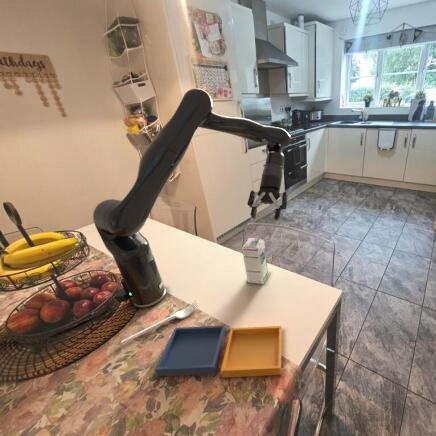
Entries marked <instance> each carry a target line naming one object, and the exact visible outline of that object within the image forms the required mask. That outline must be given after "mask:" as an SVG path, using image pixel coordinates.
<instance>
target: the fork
mask: <svg viewBox="0 0 436 436" xmlns="http://www.w3.org/2000/svg"><path fill="white" fill-rule="evenodd" d="M198 306H199V304H198V302H197V301H196V300H194V301H193V302H192V303H190V304H189V305H188V306H186V307H184V308H183V309H181V310H179V311H176V312H175V313H174V314H172V315H169V316H168V317H166V318H164V319H162V320H160V321H158V322H156V323H154V324H152V325H150V326H149V327H146V328H144V329H142V330H141V331H139V332H136V333H135V334H133V335H131V336H128V337H126V338H125V339H122V340H121V341H120V344H121V345H123V344H126V343H127V342H129V341H131V340H133V339H136V338H137V337H140V336H142V335H144V334H145V333H148V332H150V331H152V330H154V329H156V328H158V327H160V326H161V325H164V324H166V323H169V322H171V321H172V320H174V319H179V320H183V319H185V318H187V317H189V316H190V315H191V314H192V313H193V312H194V311H195V310H196V309H197V308H198Z"/></svg>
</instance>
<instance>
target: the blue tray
mask: <svg viewBox="0 0 436 436" xmlns="http://www.w3.org/2000/svg"><path fill="white" fill-rule="evenodd" d="M226 335H227V329H226V325H205V326H183V327H175V328H174V329H173V331H172V333H171V335H170V338H169V339H168V341H167V344H166V346H165V347H164V350H163V352H162V354H161V357H160V358H159V360H158V363H157V364H156V367H155V369H154V372H155V373H156V375H157V377H171V376H173V377H174V376H192V375H215V374H217V368H218V365H219V361H220V357H221V354H222V350H223V345H224V341H225V339H226Z"/></svg>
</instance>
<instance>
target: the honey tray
mask: <svg viewBox="0 0 436 436" xmlns="http://www.w3.org/2000/svg"><path fill="white" fill-rule="evenodd" d="M282 337H283V331H282V325H276V326H275V325H271V326H251V327H249V326H248V327H231V328H230V330H229V334H228V338H227V344H226V347H225V351H224V356H223V360H222V364H221V368H220V373H221V374H220V375H221V377H222V379H223V378H242V377H263V376H281V375H282V352H283V351H282V346H283V345H282V344H283V343H282V341H283V338H282Z"/></svg>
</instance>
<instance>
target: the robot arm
mask: <svg viewBox="0 0 436 436" xmlns="http://www.w3.org/2000/svg"><path fill="white" fill-rule="evenodd" d="M213 110H214V103H213V99H212V97H211V96H210V94H209V93H208V92H207V91H206V90H205V89H203V88H191V89H188V90H187V91H186V92H185V93H184V95H183V96H182V99H181V101H180V102H179V105H178V106H177V108H176V110H175V112H174V113H173V115H172V117H171V118H170V119H168V121H167V122H166V123H165V125H164V126H163V127H162V129H160V130H159V132H158V133H157V134H156V136H155V137H154V138H153V139H152V141H151V142H150V143H149V145H148V146H147V147H146V148H145V150H144V151H143V153H142V155H141V156H140V160H139V164H138V169H137V176H136V179H135V182H134V184H133V185H132V187H131V189H129V191H128V193H127V194H126V195H125V197H124V198H123V199H122V200H121V199H116V198H110V199H105V200H102V201H100V202H99V203H98V204H97V205H96V206H95V208H94V210H93V214H92V220H93V224H94V226H95V229H96V231H97V233H98V235H99V237H100V238H101V240H102V243H103V244H104V247H105V248H106V249H107V251H108V252H109V253H110V254H111V255H112V258H113V260H114V262H115V264H116V266H117V269H118V271H119V273H120V276H121V277H122V278H121V280H120V283H121V286H122V288H121V289H120V290H119V292H118V293H117V294H115V295H116V296H115V295H114V296H115V297H116V298H115V299H116V301H117V303H126V302H128V301H129V303H130V305H131V306H134V307H135V308H138V309H146V308H150V307H153V306H155V305H157V304H158V303H160V302H161V301H163V299H164V298H165V297H166V294H167V289H166V287H165V284H164V280H163V279H162V277H161V273H160V271H159V268H158V265H157V261H156V259H155V256H154V254H153V251H152V247H151V245H150V242H149V240H148V239H147V238H146V237H145V236H144V235H143V234H142V233H141V232H140V231H141V230H142V229H143V228H144V226H145V225H146V222H147V220H148V218H149V216H150V214H151V212H152V210H153V208H154V207H155V204H156V202H157V200H158V199H159V196H160V194H161V193H162V192H163V190H164V188H165V187H166V185H167V183H169V180H170V178H171V177H172V176H173V174H174V173H175V171H176V170H177V168H178V167H179V165H180V163H181V162H182V160H183V159H184V156H185V155H186V153H187V150H188V149H189V146H190V144H191V141H192V139H193V137H194V135H195V133H196V132H197V130H198V129H199V128H201V129H207V130H210V131H216V132H220V133H225V134H228V135H233V136H236V137H238V138H242V139H244V140H247V141H250V142H253V143H256V144H261V145H262V144H263V143H266V145H265V147H266V148H265V153H266V154H265V155H266V158H265V162H264V167H263V170H262V174H261V180H260V184H259V190H258V191H254V190H250V192H249V196H248V200H247V203H246V204H247V206H248V207H249V208H251V209H250V217H251V218H252V219H253V220H255V219H256V217H257V213H258V208H259V207H261V206H262V205H263V204H264V205H274V206H275V210H274V211H275V212H274V217H273V219H274V221H278V220H279V219H280V218H281V212H282V211H284V210H287V206H288V198H289V197H288V194H287V192H286V191H283V192H280V191H281V187H282V180H283V174H284V172H283V171H284V165H285V156H284V154H283V153H282V152H283V150H285V149H286V148H287V147H288V146H289V145H290V143H291V141H292V138H291V135H290V134H289V132H288V131H287V130H286V129H284V128H281V127H277V126H270V125H264V124H261V123H259V122H257V121H255V120H252V119H249V118H245V117H234V116H226V115H221V114H218V113H216V112H213ZM280 198H281V205H280V204H279V203H278V200H279V199H280Z"/></svg>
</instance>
